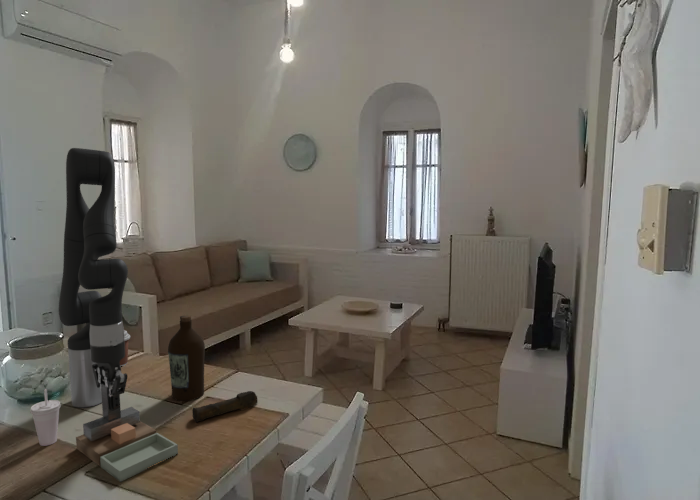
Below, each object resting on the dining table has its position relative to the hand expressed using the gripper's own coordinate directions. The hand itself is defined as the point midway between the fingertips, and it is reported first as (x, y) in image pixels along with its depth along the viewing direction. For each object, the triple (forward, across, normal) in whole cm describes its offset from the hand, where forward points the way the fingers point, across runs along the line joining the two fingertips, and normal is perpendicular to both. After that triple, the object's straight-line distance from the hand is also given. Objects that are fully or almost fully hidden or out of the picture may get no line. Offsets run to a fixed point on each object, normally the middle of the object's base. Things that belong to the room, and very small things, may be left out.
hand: (111, 407), depth 119 cm
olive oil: (+10, -10, +28) cm, 31 cm away
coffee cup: (+10, -52, +27) cm, 59 cm away
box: (+9, +13, 0) cm, 16 cm away
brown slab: (+9, +2, 0) cm, 10 cm away
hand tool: (+10, +8, +28) cm, 31 cm away
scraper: (+6, 0, 0) cm, 6 cm away
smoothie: (+10, -13, -10) cm, 19 cm away
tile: (+6, +5, 0) cm, 8 cm away
